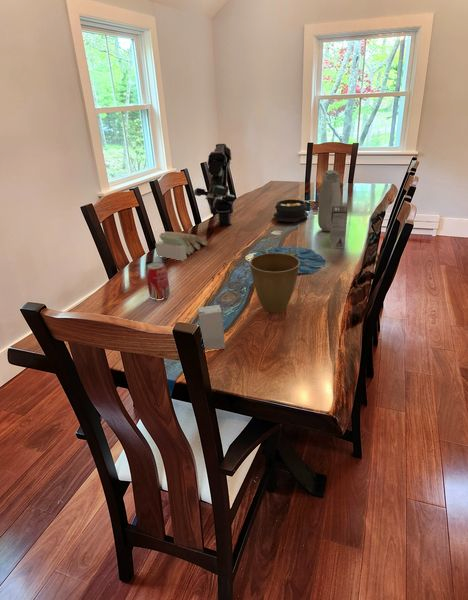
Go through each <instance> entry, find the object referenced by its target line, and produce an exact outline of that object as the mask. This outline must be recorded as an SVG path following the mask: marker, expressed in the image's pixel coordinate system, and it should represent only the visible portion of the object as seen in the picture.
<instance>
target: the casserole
mask: <svg viewBox="0 0 468 600" xmlns="http://www.w3.org/2000/svg"><path fill="white" fill-rule="evenodd" d="M274 208H275V209H276V212H274V213H273V217H274V218H275V220H276V221H279V222H284V223H285V222H286V223H287V222H288V223H289V222H290V223H292V222H298V221H300V220H302V219H305V218H307V217H308V216H309V213H308V212H307V211H306V210H307V208H308V205H307V204H306V202H305V201H304V200H301V199H284V200H279V201H277V202H276V205H275V206H274Z"/></svg>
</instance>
